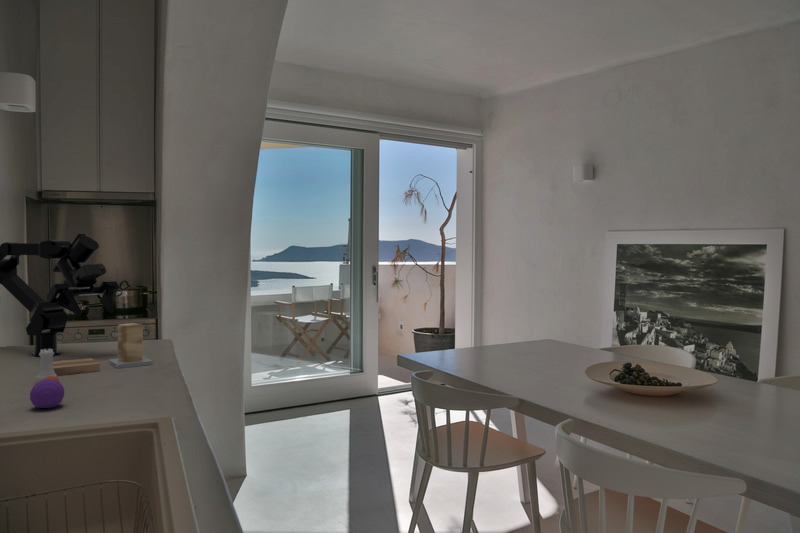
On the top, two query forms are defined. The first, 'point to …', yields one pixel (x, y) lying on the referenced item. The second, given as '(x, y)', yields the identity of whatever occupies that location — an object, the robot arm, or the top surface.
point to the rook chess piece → (45, 365)
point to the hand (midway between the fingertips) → (96, 313)
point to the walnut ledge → (75, 366)
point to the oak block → (130, 342)
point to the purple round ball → (47, 393)
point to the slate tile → (129, 363)
